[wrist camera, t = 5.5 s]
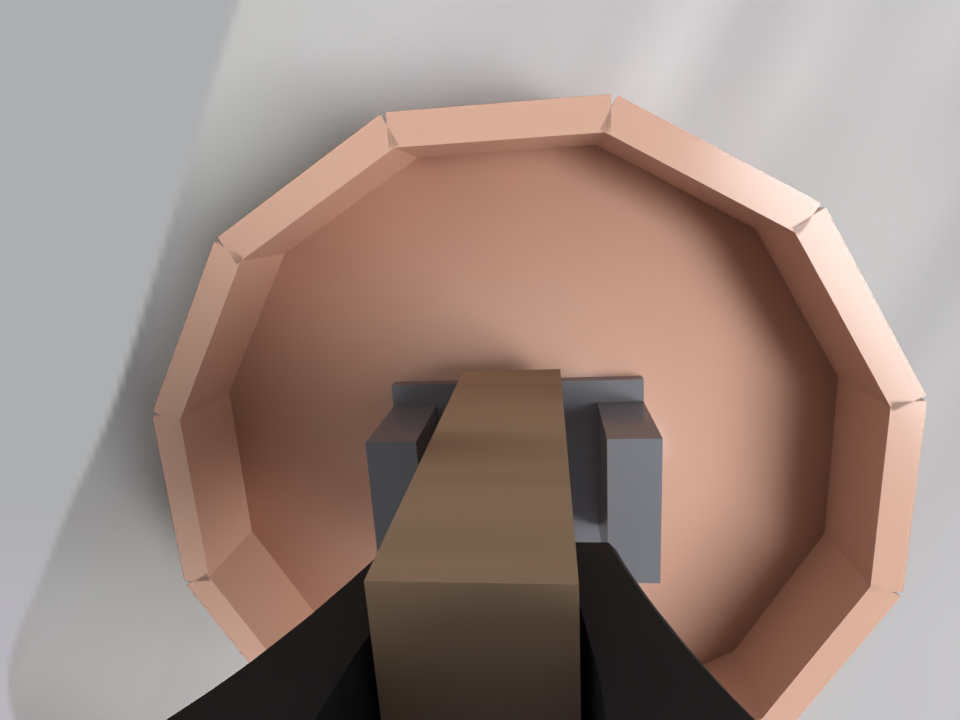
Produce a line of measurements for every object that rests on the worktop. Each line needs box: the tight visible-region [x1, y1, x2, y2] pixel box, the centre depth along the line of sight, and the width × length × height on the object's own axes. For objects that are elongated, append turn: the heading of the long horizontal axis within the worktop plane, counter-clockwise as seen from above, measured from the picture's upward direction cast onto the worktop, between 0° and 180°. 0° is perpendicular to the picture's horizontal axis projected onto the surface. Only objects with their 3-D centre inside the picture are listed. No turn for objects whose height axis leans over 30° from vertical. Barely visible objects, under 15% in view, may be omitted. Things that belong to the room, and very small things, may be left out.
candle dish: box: [152, 94, 927, 720], centre depth 13 cm, size 15×15×3 cm
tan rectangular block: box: [364, 369, 581, 720], centre depth 9 cm, size 5×2×7 cm, turn 3°
